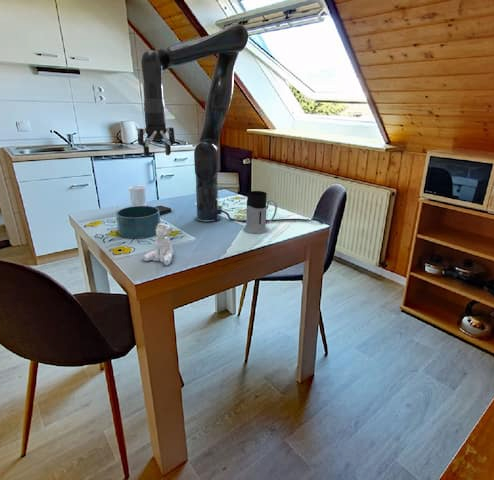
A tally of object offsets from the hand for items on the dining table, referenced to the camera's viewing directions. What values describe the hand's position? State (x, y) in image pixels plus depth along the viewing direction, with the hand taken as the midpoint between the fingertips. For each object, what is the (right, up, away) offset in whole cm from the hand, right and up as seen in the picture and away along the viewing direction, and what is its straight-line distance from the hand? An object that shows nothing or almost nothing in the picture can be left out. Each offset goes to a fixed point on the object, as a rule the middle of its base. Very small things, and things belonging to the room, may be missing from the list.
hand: (157, 155), depth 134 cm
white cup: (-16, -17, +32) cm, 40 cm away
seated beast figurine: (+6, -39, -21) cm, 45 cm away
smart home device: (-9, -22, +22) cm, 32 cm away
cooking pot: (-8, -29, +2) cm, 30 cm away
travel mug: (+40, -30, +3) cm, 50 cm away
